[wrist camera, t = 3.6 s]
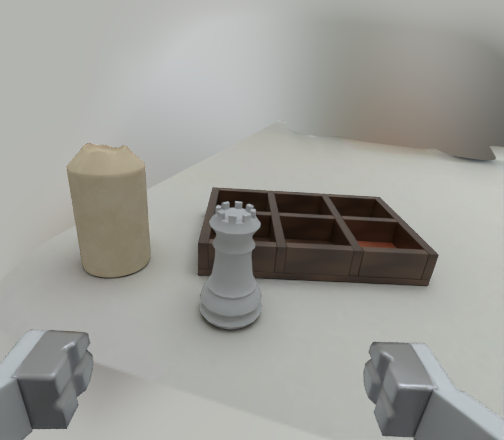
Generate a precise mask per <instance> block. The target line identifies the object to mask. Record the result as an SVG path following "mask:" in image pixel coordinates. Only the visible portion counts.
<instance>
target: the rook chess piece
mask: <svg viewBox="0 0 504 440" xmlns="http://www.w3.org/2000/svg"><path fill="white" fill-rule="evenodd" d="M242 204H243V202H239V201H235V208H229V207H230V203H229V202H228V201H227V202H222V205H221V206H220V205H217V206H216V210H215V214H214V215H213V217H212V218H211V219H210V221H209V223H210V225H211V227H212V228H213V230H214V231H215V232H216V238H215V239H214V240H213V242H212V244H213V246H214V248H215V260H214V265H213V270H212V274H211V275H210V276H209V278H208V280H207V282H206V283H205V284H204V287H203V289H202V292H201V294H200V296H201V302H200V304H199V307H200V312H201V314H202V315H203V316H204V317H205V318H206V319H207V320H208V321H209V322H210V323H211V324H212V325H215V326H217V327H219V328H223V329H230V330H232V329H239V328H243V327H245V326H247V325H249V324H251V323H252V322H253V321H255V319H256V318H257V317H258V316H259V315H260V314H261V307H262V305H261V297H262V295H261V291H260V289H259V287H258V285H257V282H256V280H255V278H254V277H253V272H252V258H251V256H252V250H253V249H254V248H255V242H254V240H253V238H252V236H253V234H254V233H255V232H256V231H257V230H258V229H259V228H260V225H261V223H260V221H259V220H258V219H257V217H256V209H254V206H253V205H251V204H247V205H246V209H243V208H242Z"/></svg>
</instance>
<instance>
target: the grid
mask: <svg viewBox="0 0 504 440" xmlns="http://www.w3.org/2000/svg"><path fill="white" fill-rule="evenodd" d="M227 201H228V202H229V203H230V207H229V208H235V201H239V202H243V204H242V208H243V209H246V205H247V204H251V205H253V206H254V209H256V217H257V219H258V220H259V221H260V223H261V225H260V228H259V229H258V230H257V231H256V232H255V233H254V234H253V236H252V238H253V240H254V242H255V248H254V249H253V250H252V256H251V258H252V272H253V277H254V278H273V279H295V280H317V281H339V282H361V283H383V284H405V285H426V286H428V284H429V281H430V279H431V276H432V273H433V270H434V267H435V264H436V261H437V258H438V254H437V253H436V252H435V251H434V250H433V249H432V248H431V247H430V246H429V245H428V244H427V243H426V242H425V241H424V240H423V239H422V238H421V237H420V236H419V235H418V234H417V233H416V232H415V231H414V230H413V229H412V228H411V227H410V226H409V225H408V224H407V223H406V222H405V221H404V220H403V219H402V218H401V217H399V216H398V215H397V214H396V213H395V212H394V211H393V210H392V209H391V208H390V207H389V206H388V205H387V204H386V203H385V202H384V201H383V200H382V199H381V198H380V197H370V196H353V195H335V194H318V193H301V192H283V191H266V190H249V189H232V188H215V187H213V188H212V192H211V195H210V199H209V203H208V207H207V211H206V215H205V219H204V223H203V226H202V230H201V234H200V238H199V242H198V275H207V276H210V275H211V274H212V270H213V265H214V260H215V248H214V246H213V244H212V242H213V240H214V239H215V238H216V232H215V231H214V230H213V228H212V227H211V225H210V223H209V221H210V219H211V218H212V217H213V215H214V214H215V210H216V206H217V205H220V206H221V205H222V202H227Z"/></svg>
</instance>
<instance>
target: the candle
mask: <svg viewBox="0 0 504 440" xmlns="http://www.w3.org/2000/svg"><path fill="white" fill-rule="evenodd" d="M67 174H68V180H69V186H70V192H71V198H72V205H73V211H74V217H75V223H76V229H77V235H78V242H79V248H80V254H81V259H82V264H83V267H84V269H85V270H86V271H87V272H88V273H90V274H92V275H94V276H98V277H120V276H125V275H129V274H132V273H134V272H137V271H139V270H140V269H142V268H143V267H145V266H146V265H147V263H148V262H149V260H150V238H149V222H148V207H147V191H146V175H145V164H144V162H143V161H142V160H141V159H140V158H139V157H138V156H136V155H135V154H134V153H133V152H132V151H131V150H130V149H129V148H128V147H127V146H121V147H120V148H115V147H110V146H107V145H94V144H91V143H87V144H85V145H84V146H83V147H82V148H81V150H80V151H79V152H78V153H77V154H76V155H75V156H74V158H73V159H72V160H71V161H70V162H69V163H68V165H67Z"/></svg>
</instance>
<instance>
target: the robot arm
mask: <svg viewBox="0 0 504 440" xmlns="http://www.w3.org/2000/svg"><path fill="white" fill-rule="evenodd" d="M89 344H90V340H89V335H88V333H85V332H73V331H56V330H49V331H48V330H33V329H31V330H29V331H27V332H26V333H25V334H24V335H23V336H22V337H21V338H20V340H19V341H18V342H17V343H16V344H15V346H14V347H13V348H12V349H11V350H10V352H9V353H8V354H7V355H6V356H5V358H4V359H3V360H2V361H1V362H0V440H23V439H24V438H25V437H26V436H27V435H29V434H30V433H31V432H32V429H67V427H68V425H69V423H70V421H71V419H72V417H73V415H74V413H75V411H76V409H77V407H78V400H77V397H78V396H79V395H80V394H81V393H83V392H84V391H85V390H86V389H87V387H88V384H89V382H90V380H91V376H92V372H93V356H92V354H91V353H90V352H89V351H88V350H87V348H88V346H89ZM369 354H370V356H371V359H370V360H369V361H368V362H367V363H365V368H364V386H365V390H366V393H367V396H368V398H369V399H370V400H371V401H372V402H373V403H374V404H376V407H375V410H374V415H375V417H376V420H377V422H378V425H379V428H380V430H381V433H382V436H396V437H414V440H504V419H503V418H501V417H500V416H499V415H497V414H496V413H494V412H493V411H492V410H490V409H489V408H487V407H486V406H484V405H483V404H482V403H480V402H479V401H477V400H476V399H474V398H473V397H472V396H470V395H469V394H467V393H466V392H464V391H458V389H457V388H456V386H455V385H454V383H453V382H452V380H451V379H450V377H449V376H448V374H447V373H446V371H445V370H444V368H443V367H442V365H441V364H440V362H439V361H438V359H437V358H436V356H435V355H434V353H433V352H432V350H431V349H430V348H429V346H428V345H426V344H425V343H394V342H373V343H372V344H371V346H370V349H369Z"/></svg>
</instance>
